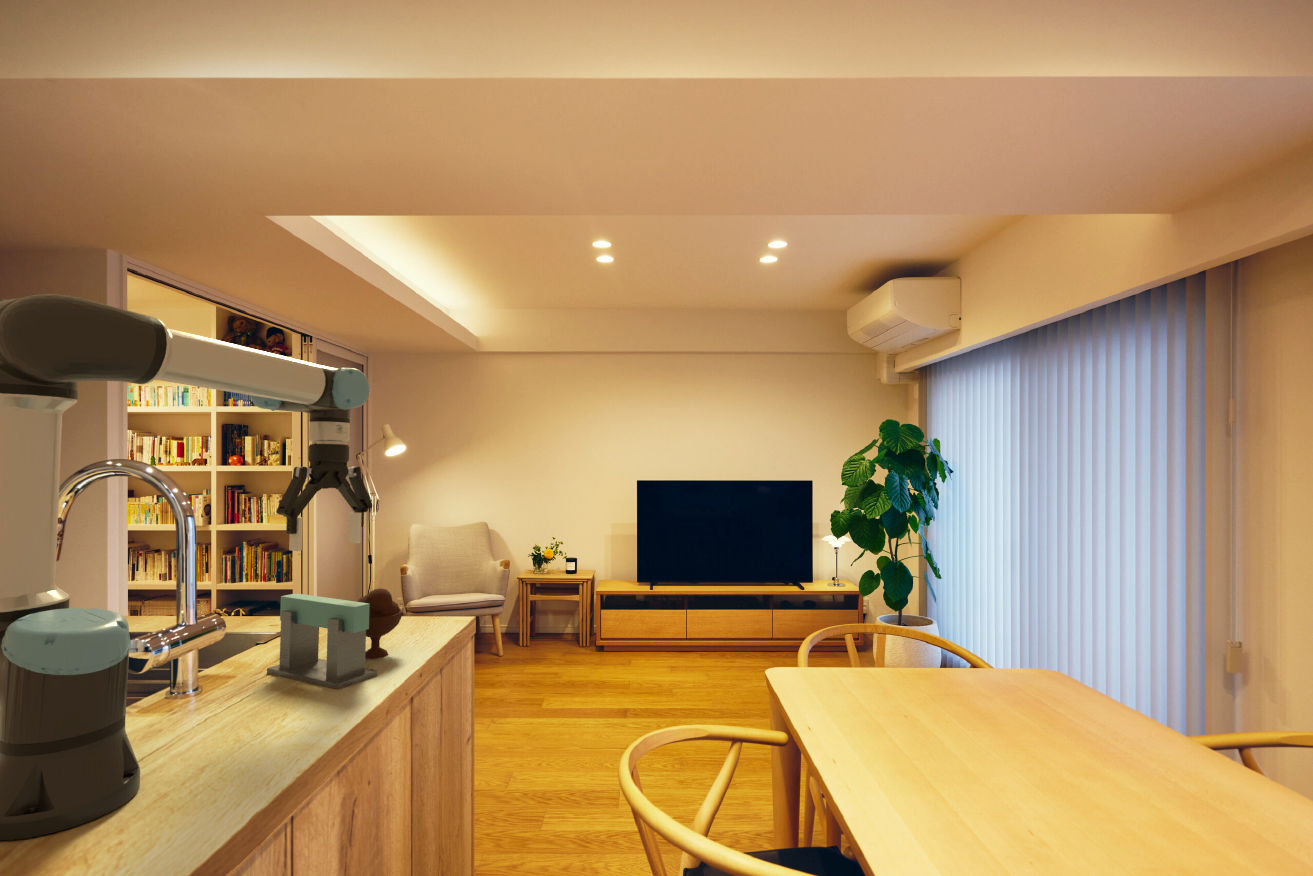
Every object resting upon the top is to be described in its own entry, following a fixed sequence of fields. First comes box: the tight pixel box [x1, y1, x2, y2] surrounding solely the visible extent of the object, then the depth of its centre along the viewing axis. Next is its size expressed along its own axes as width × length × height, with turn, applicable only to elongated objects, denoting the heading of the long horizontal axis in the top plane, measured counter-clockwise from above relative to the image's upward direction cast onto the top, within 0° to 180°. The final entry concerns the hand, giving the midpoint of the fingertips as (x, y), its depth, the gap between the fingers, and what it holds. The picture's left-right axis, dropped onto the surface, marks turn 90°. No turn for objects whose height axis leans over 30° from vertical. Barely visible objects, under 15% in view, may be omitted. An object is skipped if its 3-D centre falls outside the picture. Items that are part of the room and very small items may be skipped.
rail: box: [279, 593, 370, 633], centre depth 130 cm, size 22×4×5 cm, turn 65°
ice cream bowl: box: [356, 588, 403, 660], centre depth 143 cm, size 11×11×15 cm
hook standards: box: [266, 610, 378, 690], centre depth 130 cm, size 9×21×12 cm, turn 65°
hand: (326, 546), depth 130 cm, fingers open, 13 cm apart
